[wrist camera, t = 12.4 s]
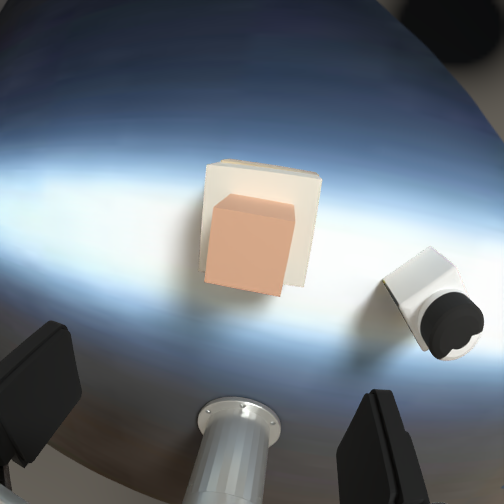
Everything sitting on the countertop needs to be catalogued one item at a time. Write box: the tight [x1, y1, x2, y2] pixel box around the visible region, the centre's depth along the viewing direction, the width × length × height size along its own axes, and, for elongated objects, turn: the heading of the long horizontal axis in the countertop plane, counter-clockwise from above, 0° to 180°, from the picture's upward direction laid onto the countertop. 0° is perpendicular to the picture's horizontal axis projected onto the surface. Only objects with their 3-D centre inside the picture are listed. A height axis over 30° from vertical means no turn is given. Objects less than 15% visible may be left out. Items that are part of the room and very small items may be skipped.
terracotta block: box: [204, 194, 295, 297], centre depth 23 cm, size 5×5×6 cm
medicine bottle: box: [383, 246, 484, 361], centre depth 29 cm, size 7×7×12 cm
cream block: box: [198, 162, 322, 287], centre depth 28 cm, size 9×9×4 cm
